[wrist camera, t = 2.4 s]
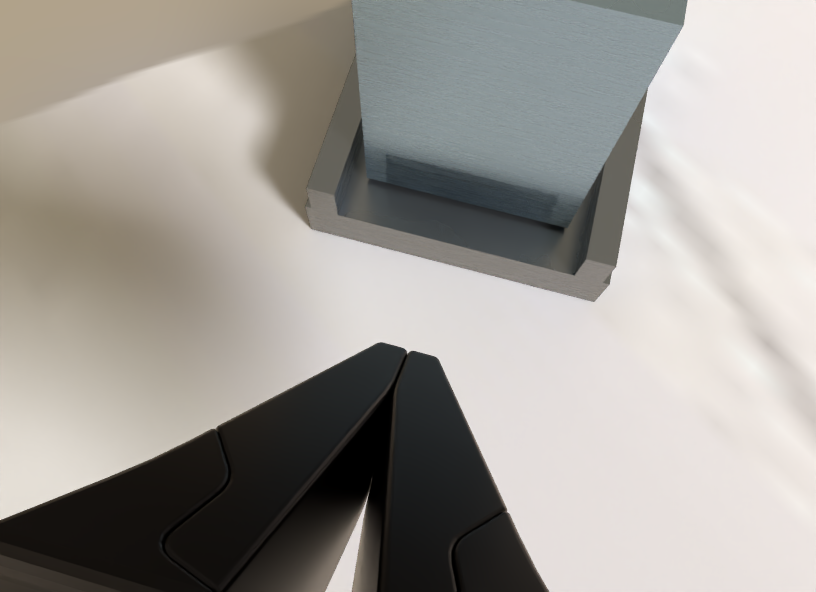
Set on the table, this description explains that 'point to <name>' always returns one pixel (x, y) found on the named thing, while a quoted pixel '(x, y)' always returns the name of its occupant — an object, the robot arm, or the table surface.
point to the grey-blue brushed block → (504, 94)
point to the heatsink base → (471, 214)
